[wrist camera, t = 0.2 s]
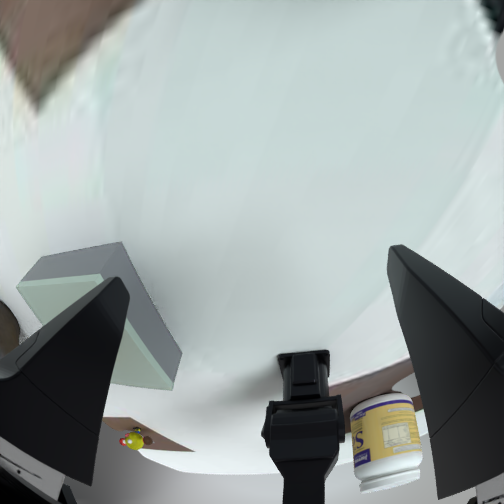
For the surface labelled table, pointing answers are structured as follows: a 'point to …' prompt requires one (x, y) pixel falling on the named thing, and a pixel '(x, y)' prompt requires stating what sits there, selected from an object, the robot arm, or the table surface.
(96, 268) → the tub
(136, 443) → the toy figure
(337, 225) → the table surface
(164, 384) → the lid
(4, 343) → the pitcher
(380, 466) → the supplement tub
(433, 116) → the table surface
